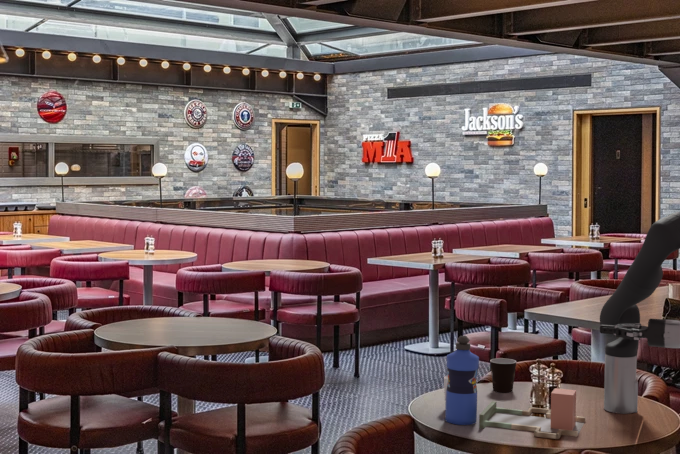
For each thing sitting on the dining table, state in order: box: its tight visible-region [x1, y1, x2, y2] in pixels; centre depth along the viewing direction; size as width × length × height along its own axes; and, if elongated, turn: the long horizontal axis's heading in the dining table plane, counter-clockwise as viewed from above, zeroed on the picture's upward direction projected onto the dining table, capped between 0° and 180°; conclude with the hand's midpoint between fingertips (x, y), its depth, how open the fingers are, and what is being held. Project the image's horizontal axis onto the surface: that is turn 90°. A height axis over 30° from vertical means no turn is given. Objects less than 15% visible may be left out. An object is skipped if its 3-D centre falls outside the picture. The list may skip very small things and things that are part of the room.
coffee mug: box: [489, 357, 517, 394], centre depth 295 cm, size 12×9×10 cm
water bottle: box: [444, 335, 480, 426], centre depth 258 cm, size 9×9×25 cm
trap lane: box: [478, 400, 586, 440], centre depth 253 cm, size 27×25×4 cm
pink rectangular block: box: [550, 387, 577, 430], centre depth 249 cm, size 6×6×10 cm
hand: (600, 328), depth 244 cm, fingers closed
